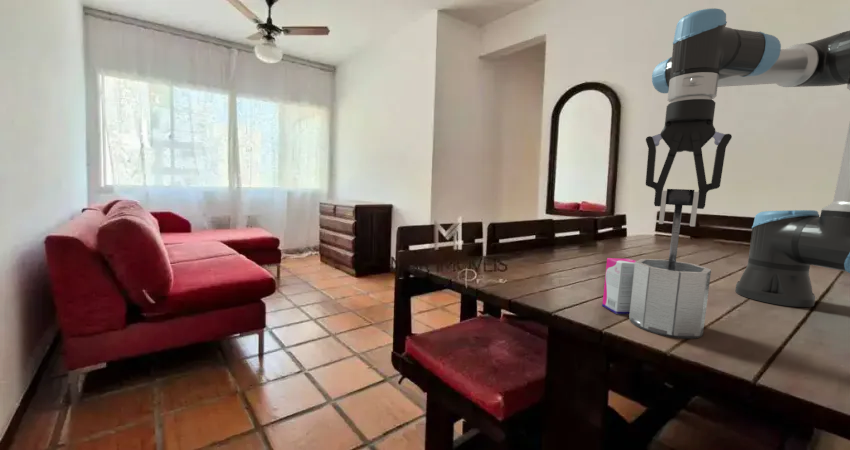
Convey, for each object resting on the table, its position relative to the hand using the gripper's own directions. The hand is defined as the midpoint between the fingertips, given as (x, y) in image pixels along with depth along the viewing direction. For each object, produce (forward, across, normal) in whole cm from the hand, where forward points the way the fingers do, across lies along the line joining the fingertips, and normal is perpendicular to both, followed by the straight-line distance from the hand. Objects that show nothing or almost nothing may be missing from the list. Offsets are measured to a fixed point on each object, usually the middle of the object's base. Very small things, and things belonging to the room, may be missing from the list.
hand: (676, 224), depth 72 cm
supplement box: (+21, -8, +5) cm, 23 cm away
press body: (+21, -1, +1) cm, 21 cm away
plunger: (+14, 0, 0) cm, 14 cm away
